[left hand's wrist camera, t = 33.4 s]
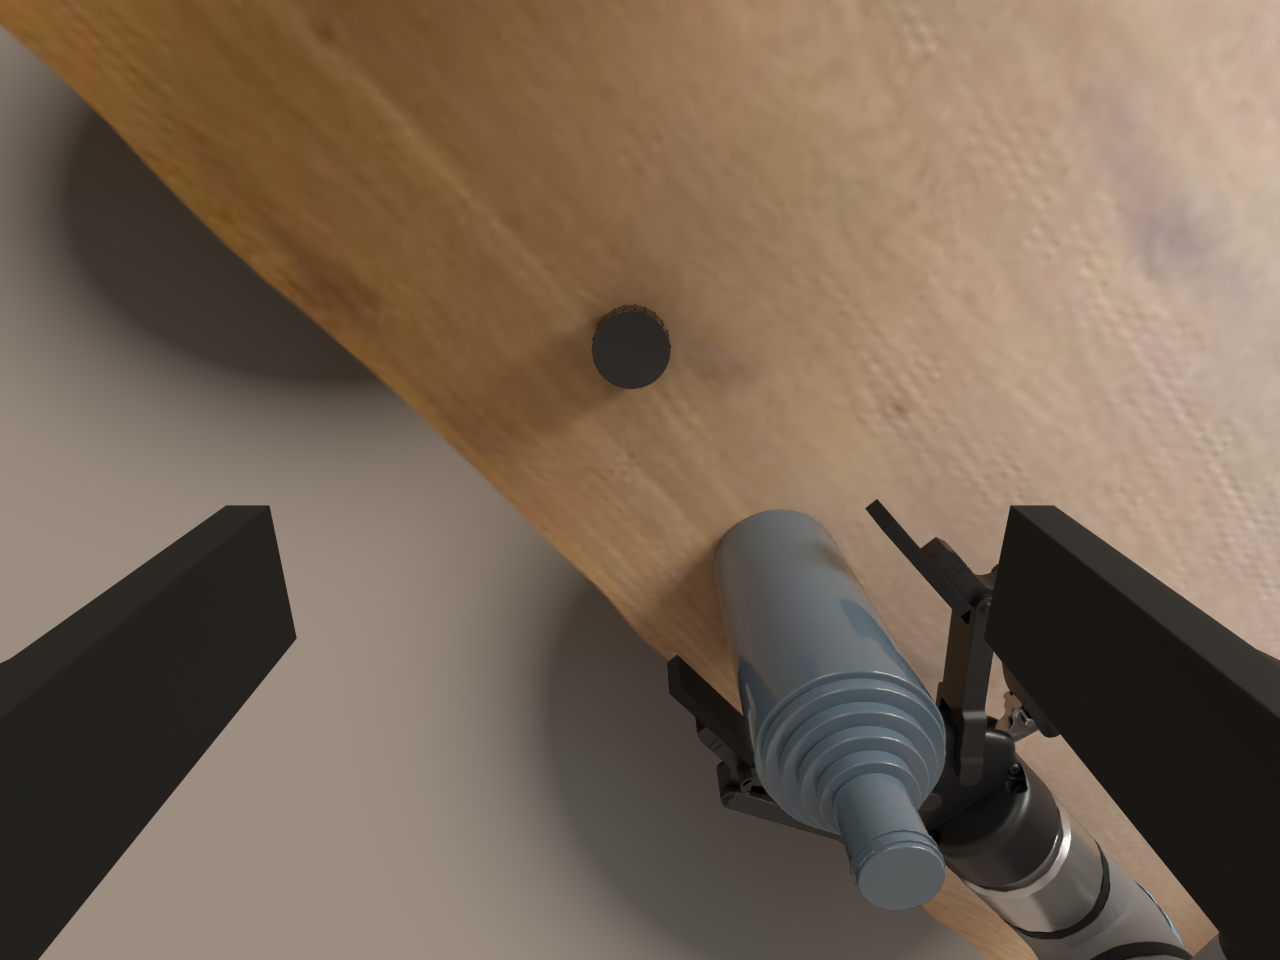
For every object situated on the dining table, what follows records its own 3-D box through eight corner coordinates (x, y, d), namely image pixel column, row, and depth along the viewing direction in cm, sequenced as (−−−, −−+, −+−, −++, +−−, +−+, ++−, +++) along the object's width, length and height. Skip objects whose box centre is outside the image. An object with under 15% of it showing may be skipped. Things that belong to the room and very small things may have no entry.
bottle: (861, 537, 42) (1070, 832, 22) (801, 638, 45) (939, 986, 24) (747, 490, 41) (857, 754, 21) (691, 595, 43) (742, 924, 23)
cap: (579, 349, 38) (575, 357, 36) (625, 287, 37) (624, 292, 35) (637, 394, 39) (638, 405, 37) (684, 335, 38) (687, 343, 36)
